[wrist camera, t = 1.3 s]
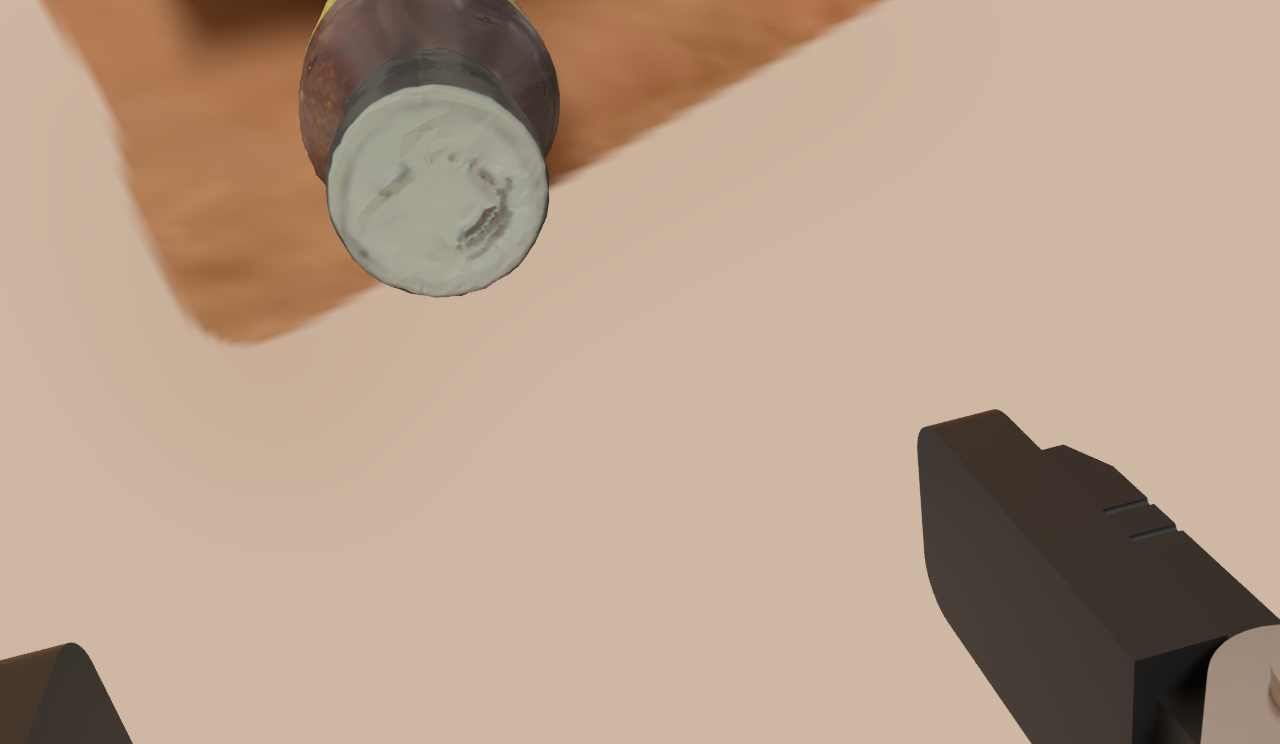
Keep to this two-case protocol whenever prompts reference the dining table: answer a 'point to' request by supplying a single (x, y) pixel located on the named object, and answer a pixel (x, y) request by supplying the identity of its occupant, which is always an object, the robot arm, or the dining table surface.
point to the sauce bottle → (431, 137)
